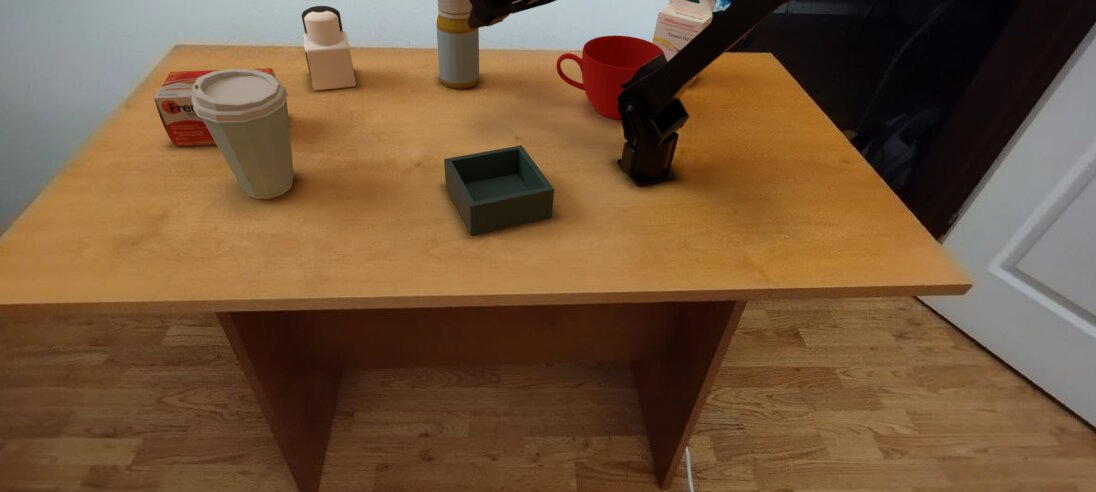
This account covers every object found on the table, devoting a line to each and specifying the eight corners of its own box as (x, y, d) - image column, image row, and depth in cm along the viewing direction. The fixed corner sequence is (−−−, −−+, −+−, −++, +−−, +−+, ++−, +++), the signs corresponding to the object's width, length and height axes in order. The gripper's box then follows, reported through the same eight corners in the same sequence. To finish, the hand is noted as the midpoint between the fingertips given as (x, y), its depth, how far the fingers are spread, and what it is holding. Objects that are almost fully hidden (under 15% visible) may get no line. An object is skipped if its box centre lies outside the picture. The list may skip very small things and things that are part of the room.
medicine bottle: (311, 73, 103) (296, 3, 95) (352, 69, 105) (340, 0, 97) (313, 91, 98) (297, 19, 90) (356, 87, 100) (344, 16, 92)
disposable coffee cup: (305, 160, 83) (279, 57, 73) (314, 202, 76) (287, 95, 65) (226, 172, 80) (187, 68, 70) (227, 218, 73) (184, 109, 62)
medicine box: (172, 147, 84) (150, 96, 78) (186, 120, 90) (166, 70, 84) (280, 142, 86) (266, 92, 81) (287, 115, 92) (275, 67, 86)
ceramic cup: (555, 87, 103) (559, 30, 96) (650, 95, 102) (661, 38, 95) (551, 123, 93) (555, 63, 86) (656, 131, 92) (669, 71, 86)
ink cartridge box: (644, 76, 108) (660, -8, 98) (654, 67, 111) (671, -15, 101) (688, 88, 104) (709, 3, 94) (697, 78, 108) (718, -5, 98)
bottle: (473, 92, 100) (471, 2, 90) (434, 87, 101) (428, -3, 91) (483, 75, 105) (482, -12, 95) (446, 70, 106) (441, -17, 96)
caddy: (520, 172, 83) (521, 144, 80) (552, 217, 75) (554, 189, 72) (445, 186, 79) (443, 158, 76) (470, 235, 72) (470, 206, 69)
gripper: (566, -114, 79) (504, -44, 91) (472, -95, 68) (415, -18, 81) (605, -38, 81) (539, 21, 93) (519, -8, 70) (457, 54, 83)
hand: (490, 18), depth 87 cm, fingers open, 9 cm apart
